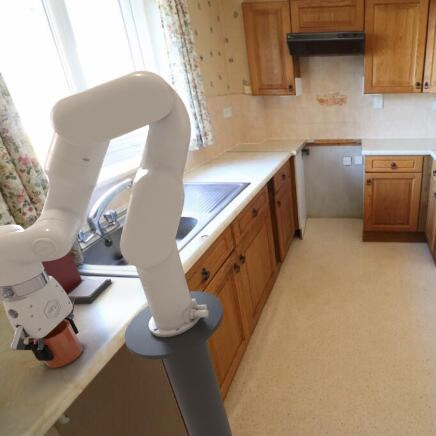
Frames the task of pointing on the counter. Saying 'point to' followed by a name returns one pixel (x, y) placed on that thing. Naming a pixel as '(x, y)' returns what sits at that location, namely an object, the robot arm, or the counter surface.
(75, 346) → the cup
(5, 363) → the counter surface
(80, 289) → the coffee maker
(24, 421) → the counter surface
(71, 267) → the column
